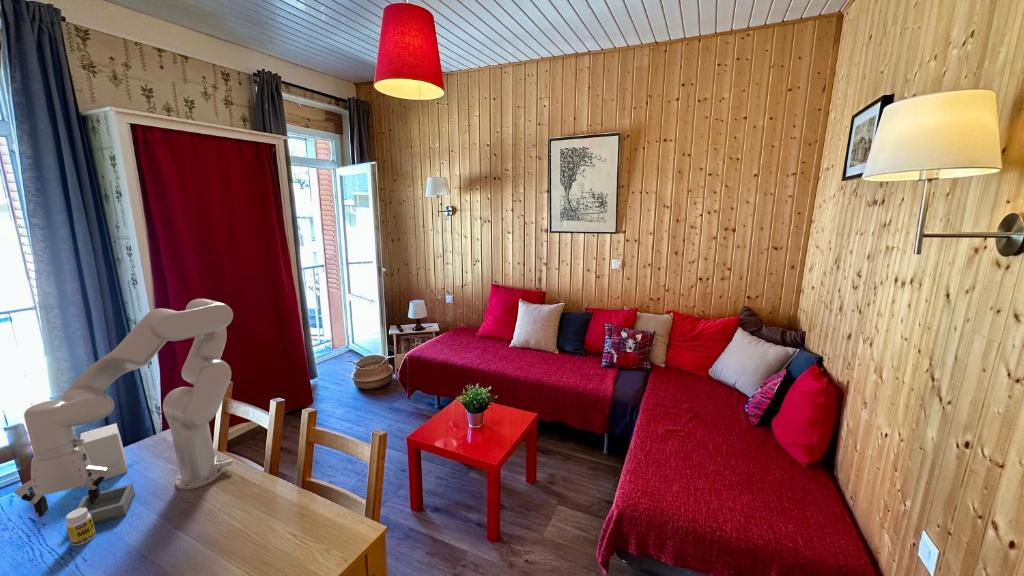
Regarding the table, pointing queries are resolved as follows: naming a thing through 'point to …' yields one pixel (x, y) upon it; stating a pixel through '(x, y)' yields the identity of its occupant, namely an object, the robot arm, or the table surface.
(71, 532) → the supplement bottle
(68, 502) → the table surface
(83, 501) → the bin
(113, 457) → the supplement box
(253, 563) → the table surface
